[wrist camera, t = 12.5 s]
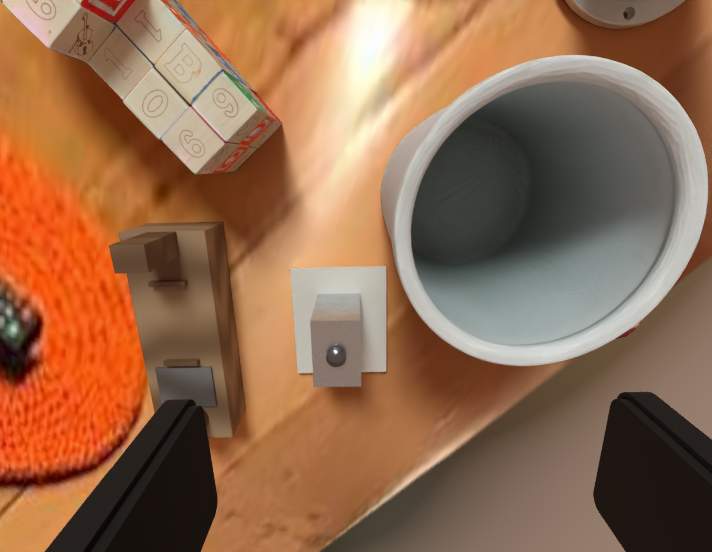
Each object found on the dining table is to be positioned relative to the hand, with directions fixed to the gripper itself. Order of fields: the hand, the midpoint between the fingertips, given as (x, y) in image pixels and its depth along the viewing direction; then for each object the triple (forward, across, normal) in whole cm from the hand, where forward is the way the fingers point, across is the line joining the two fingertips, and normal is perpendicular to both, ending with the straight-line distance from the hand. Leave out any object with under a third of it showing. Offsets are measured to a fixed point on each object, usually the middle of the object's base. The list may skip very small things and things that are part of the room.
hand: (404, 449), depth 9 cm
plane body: (+28, +17, +9) cm, 34 cm away
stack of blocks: (+29, +16, -16) cm, 37 cm away
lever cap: (+28, +3, +9) cm, 29 cm away
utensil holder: (+28, -8, -3) cm, 30 cm away
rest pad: (+28, +3, +9) cm, 30 cm away
